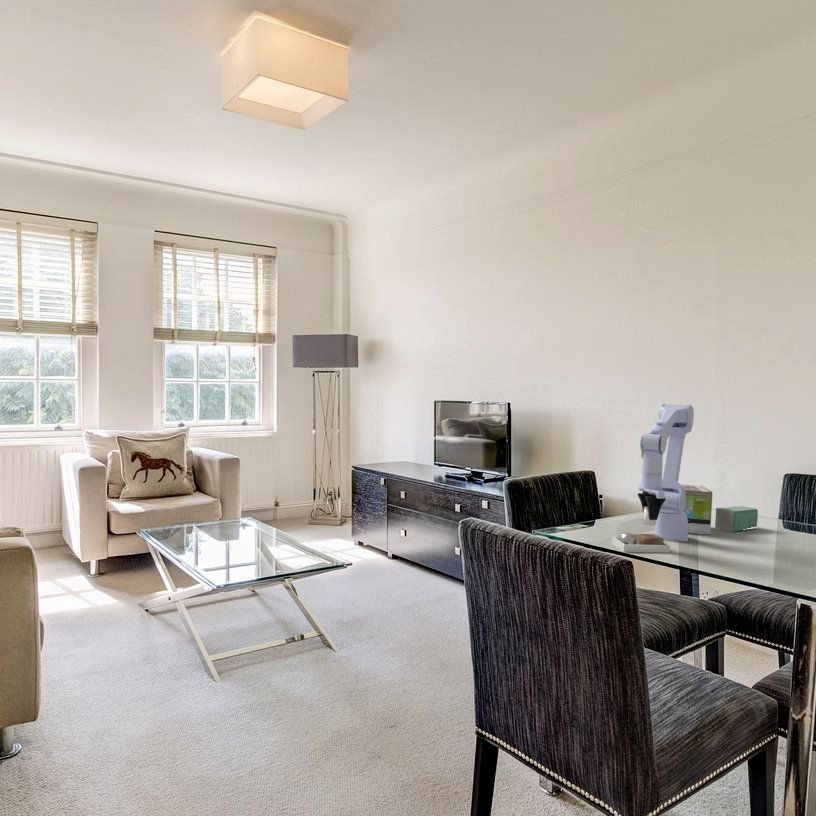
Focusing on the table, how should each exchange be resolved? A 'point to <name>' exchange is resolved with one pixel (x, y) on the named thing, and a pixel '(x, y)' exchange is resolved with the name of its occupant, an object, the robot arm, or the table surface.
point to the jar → (647, 518)
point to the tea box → (698, 509)
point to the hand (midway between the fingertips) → (650, 518)
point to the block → (649, 539)
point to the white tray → (640, 547)
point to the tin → (628, 538)
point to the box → (736, 518)
